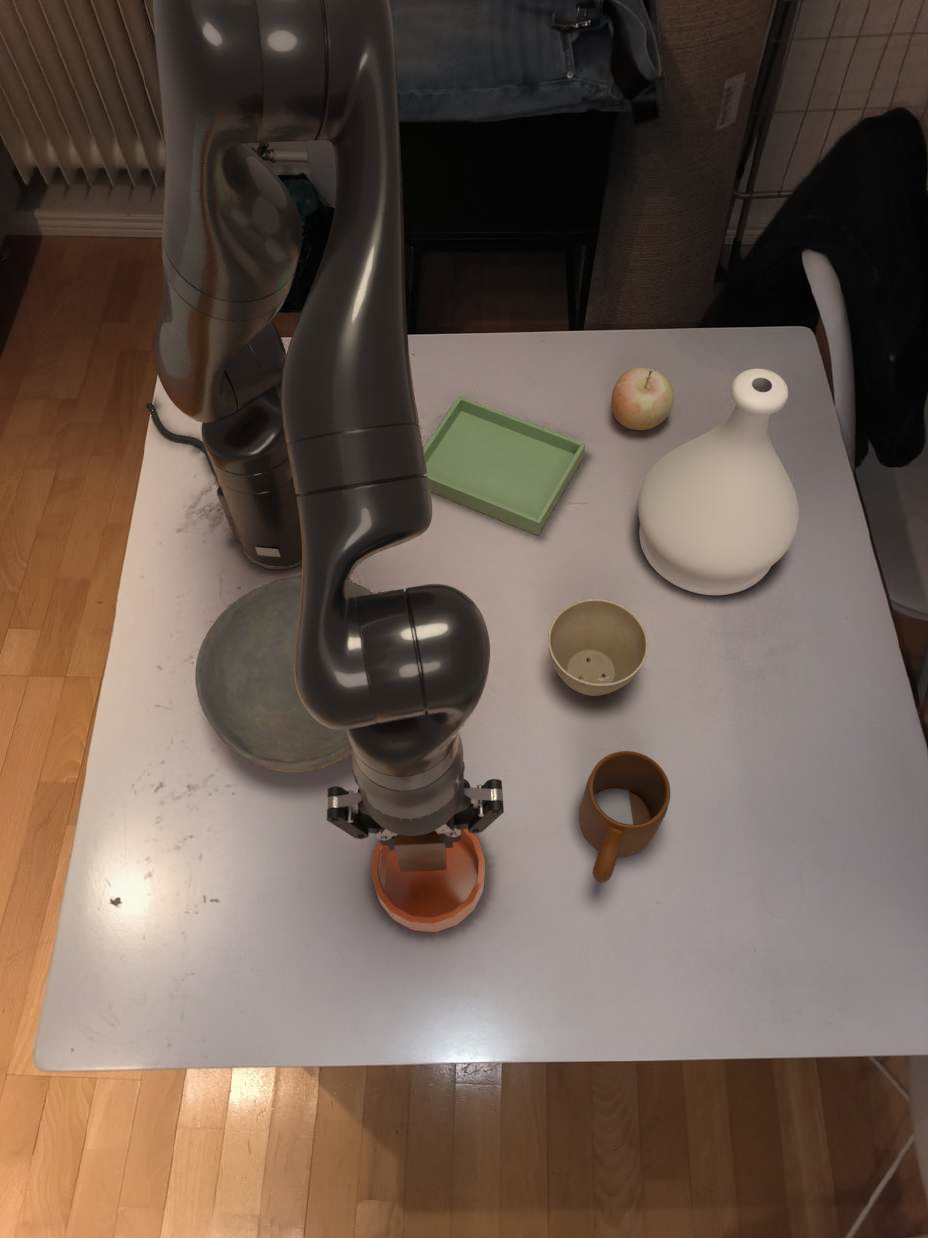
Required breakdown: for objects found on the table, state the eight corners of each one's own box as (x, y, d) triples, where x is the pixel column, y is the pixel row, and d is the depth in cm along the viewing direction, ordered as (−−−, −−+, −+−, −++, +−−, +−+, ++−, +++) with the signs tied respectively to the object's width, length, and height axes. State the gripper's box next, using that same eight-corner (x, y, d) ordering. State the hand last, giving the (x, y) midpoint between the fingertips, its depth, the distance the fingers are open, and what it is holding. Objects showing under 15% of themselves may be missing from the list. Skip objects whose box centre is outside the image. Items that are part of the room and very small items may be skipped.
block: (400, 872, 84) (393, 846, 77) (399, 827, 86) (393, 797, 79) (446, 870, 84) (444, 843, 77) (445, 825, 86) (442, 795, 79)
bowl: (424, 776, 98) (420, 745, 91) (216, 809, 96) (196, 781, 89) (397, 598, 108) (391, 559, 101) (209, 626, 107) (190, 588, 100)
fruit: (635, 387, 123) (645, 340, 116) (679, 419, 120) (691, 373, 113) (594, 418, 121) (601, 372, 114) (638, 452, 118) (648, 407, 111)
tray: (409, 483, 116) (408, 470, 114) (459, 409, 122) (459, 395, 120) (538, 535, 112) (539, 523, 110) (583, 456, 118) (585, 443, 115)
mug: (630, 914, 91) (645, 889, 82) (553, 885, 92) (560, 857, 84) (664, 799, 96) (682, 765, 88) (591, 773, 97) (601, 737, 89)
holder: (355, 901, 92) (350, 890, 88) (408, 806, 96) (406, 792, 93) (453, 953, 89) (451, 944, 86) (502, 853, 94) (503, 841, 90)
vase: (750, 627, 106) (820, 486, 84) (606, 561, 110) (637, 411, 88) (805, 514, 113) (883, 357, 91) (668, 457, 117) (711, 295, 96)
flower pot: (632, 723, 100) (642, 693, 94) (537, 706, 101) (540, 675, 95) (643, 640, 105) (653, 606, 99) (551, 624, 106) (556, 590, 100)
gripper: (508, 710, 69) (502, 791, 84) (308, 719, 68) (337, 798, 83) (516, 812, 65) (507, 878, 80) (304, 822, 65) (335, 886, 80)
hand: (420, 837), depth 82 cm, fingers closed on block, 4 cm apart
